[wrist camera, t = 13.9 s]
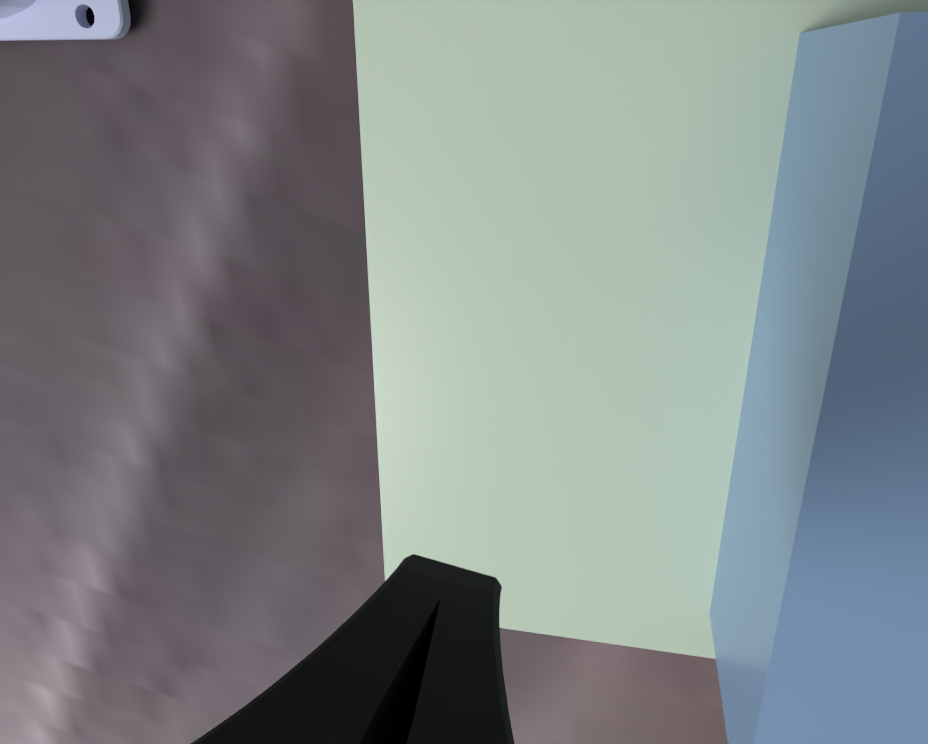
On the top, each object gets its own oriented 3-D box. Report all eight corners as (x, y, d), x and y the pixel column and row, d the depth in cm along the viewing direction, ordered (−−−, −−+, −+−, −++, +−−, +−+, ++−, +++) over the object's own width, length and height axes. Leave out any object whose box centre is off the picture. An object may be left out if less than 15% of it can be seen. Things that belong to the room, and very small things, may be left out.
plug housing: (709, 613, 20) (738, 817, 15) (799, 33, 15) (900, 12, 9) (909, 640, 19) (1021, 868, 14) (1088, 29, 14) (1393, 3, 8)
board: (396, 590, 23) (386, 611, 22) (325, -871, 12) (300, -947, 11) (934, 664, 20) (948, 692, 19) (1511, -1185, 9) (1609, -1324, 8)
